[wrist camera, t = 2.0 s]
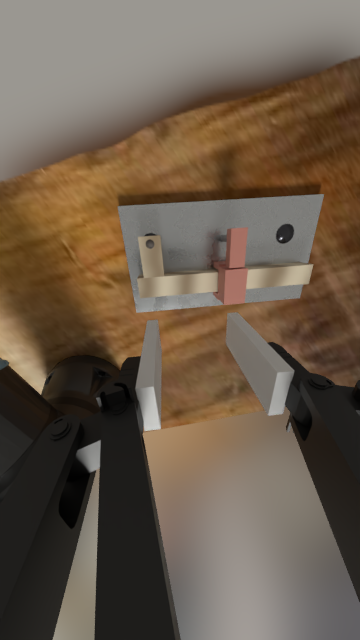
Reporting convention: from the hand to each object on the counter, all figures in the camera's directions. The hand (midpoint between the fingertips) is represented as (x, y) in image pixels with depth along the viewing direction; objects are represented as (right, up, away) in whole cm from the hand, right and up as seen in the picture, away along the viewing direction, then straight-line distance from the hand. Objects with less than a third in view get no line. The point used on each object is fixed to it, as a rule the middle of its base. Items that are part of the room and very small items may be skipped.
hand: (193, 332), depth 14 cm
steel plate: (+6, +11, +16) cm, 20 cm away
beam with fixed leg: (+6, +11, +15) cm, 20 cm away
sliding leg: (+6, +10, +15) cm, 19 cm away
